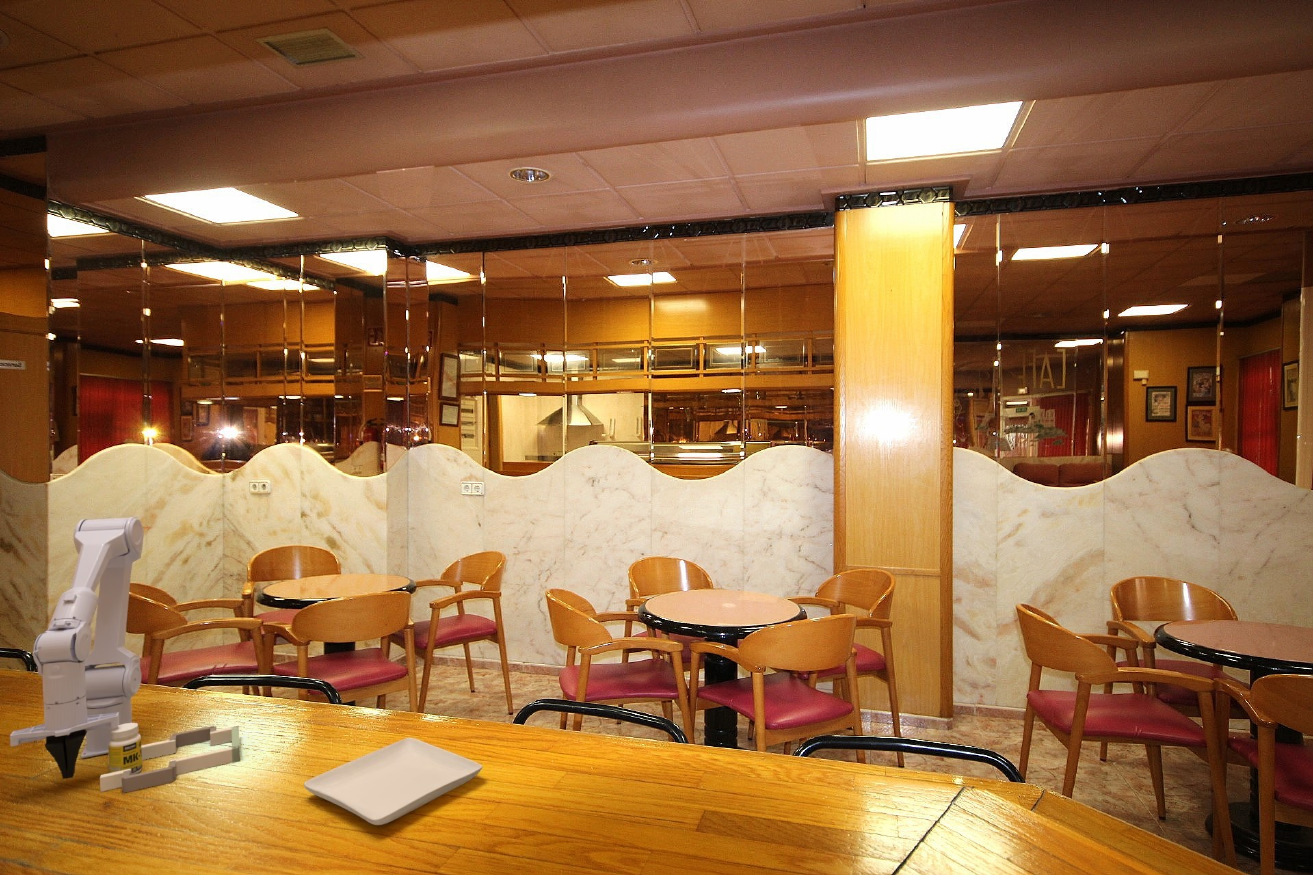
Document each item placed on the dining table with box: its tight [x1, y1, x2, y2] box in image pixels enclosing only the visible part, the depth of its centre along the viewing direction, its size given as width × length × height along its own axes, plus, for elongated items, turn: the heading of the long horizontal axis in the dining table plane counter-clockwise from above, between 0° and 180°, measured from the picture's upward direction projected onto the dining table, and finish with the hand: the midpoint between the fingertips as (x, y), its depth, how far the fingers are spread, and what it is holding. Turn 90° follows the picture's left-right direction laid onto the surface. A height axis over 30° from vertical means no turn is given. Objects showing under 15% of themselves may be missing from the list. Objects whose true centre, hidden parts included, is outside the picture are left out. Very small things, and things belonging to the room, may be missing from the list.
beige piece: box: [99, 725, 241, 794], centre depth 134 cm, size 17×21×2 cm
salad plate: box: [303, 737, 484, 826], centre depth 123 cm, size 21×21×3 cm
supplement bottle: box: [108, 722, 143, 775], centre depth 130 cm, size 5×5×8 cm
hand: (68, 775), depth 126 cm, fingers closed
